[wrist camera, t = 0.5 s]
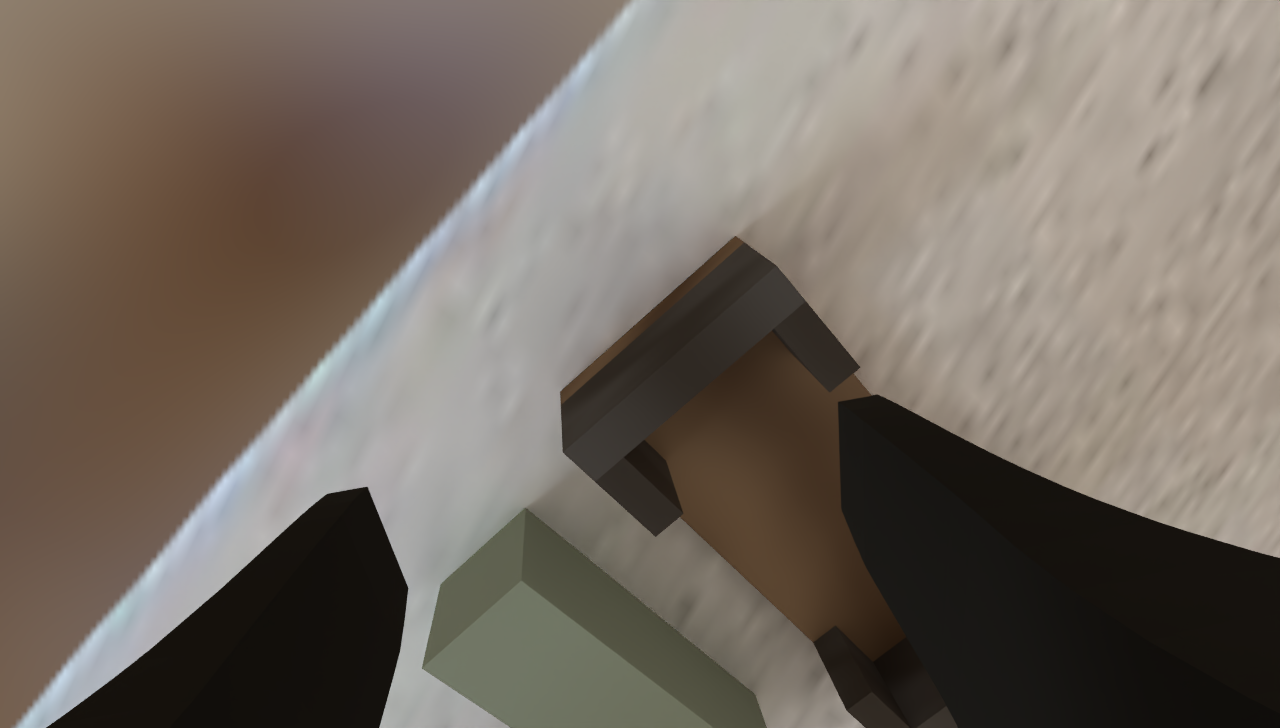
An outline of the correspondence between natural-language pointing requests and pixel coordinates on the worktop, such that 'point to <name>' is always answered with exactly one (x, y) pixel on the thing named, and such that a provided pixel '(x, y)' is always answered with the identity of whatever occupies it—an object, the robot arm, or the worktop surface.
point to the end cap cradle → (751, 464)
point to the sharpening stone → (570, 644)
